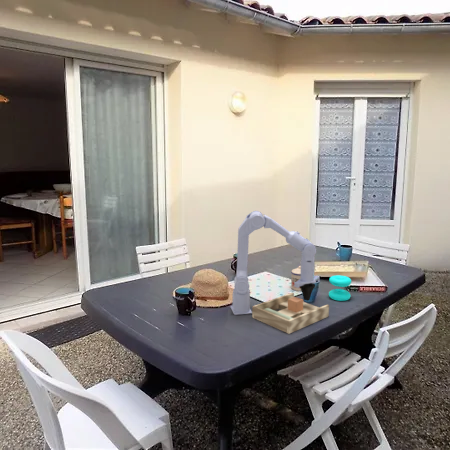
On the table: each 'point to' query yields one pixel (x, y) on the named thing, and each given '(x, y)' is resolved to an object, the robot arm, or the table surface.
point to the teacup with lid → (295, 277)
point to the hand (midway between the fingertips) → (306, 299)
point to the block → (295, 304)
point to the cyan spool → (339, 293)
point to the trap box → (288, 314)
